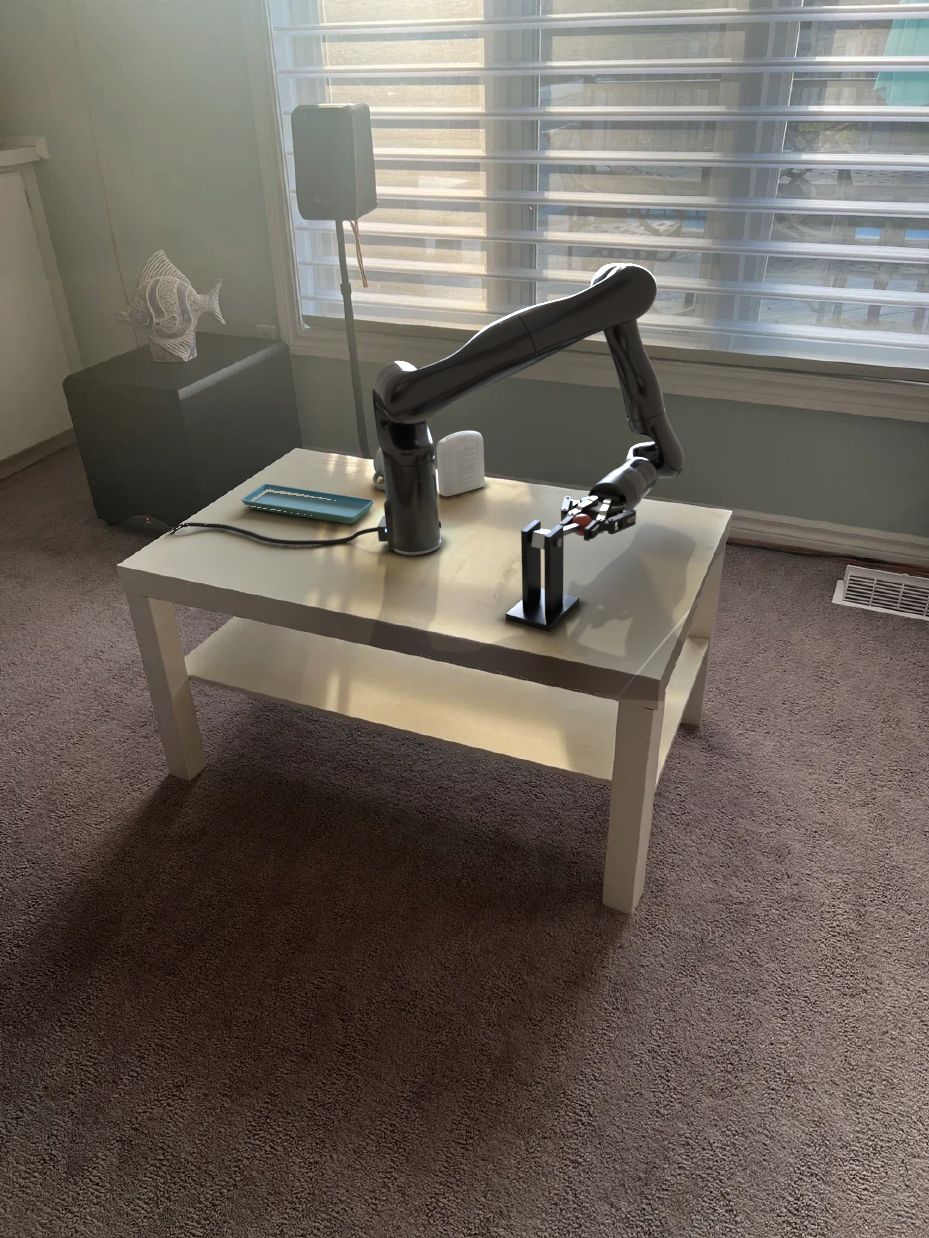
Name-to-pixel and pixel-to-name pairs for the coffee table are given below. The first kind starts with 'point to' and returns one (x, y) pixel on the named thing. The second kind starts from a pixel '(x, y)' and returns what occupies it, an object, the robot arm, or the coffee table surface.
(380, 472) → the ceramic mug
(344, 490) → the coffee table surface
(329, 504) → the shallow long dish
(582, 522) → the red knobbed lever
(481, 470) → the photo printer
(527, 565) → the black lever stand
